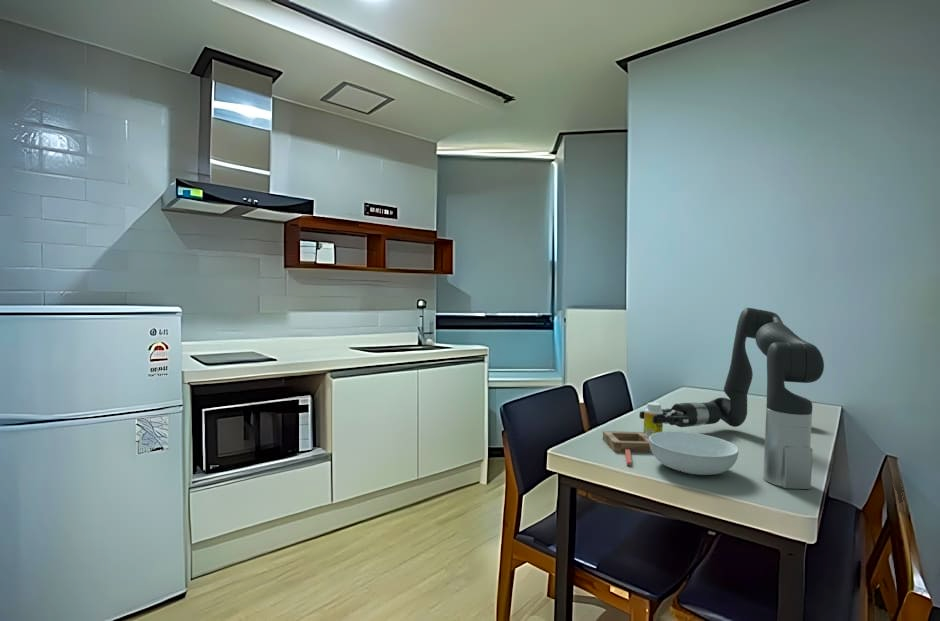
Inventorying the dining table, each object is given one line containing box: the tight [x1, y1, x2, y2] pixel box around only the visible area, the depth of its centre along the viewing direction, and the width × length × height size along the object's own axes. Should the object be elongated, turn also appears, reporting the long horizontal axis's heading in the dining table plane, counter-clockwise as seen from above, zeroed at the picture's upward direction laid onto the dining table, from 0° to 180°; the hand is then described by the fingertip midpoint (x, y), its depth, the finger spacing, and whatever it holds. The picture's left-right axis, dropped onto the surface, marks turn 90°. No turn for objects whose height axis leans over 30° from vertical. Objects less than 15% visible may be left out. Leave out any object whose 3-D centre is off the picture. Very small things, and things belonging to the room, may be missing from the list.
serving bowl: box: [649, 430, 740, 476], centre depth 130 cm, size 21×21×7 cm
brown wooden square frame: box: [602, 430, 652, 453], centre depth 149 cm, size 12×12×2 cm
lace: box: [624, 449, 633, 467], centre depth 136 cm, size 12×1×1 cm, turn 165°
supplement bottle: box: [643, 402, 664, 437], centre depth 159 cm, size 6×6×10 cm
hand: (647, 417), depth 159 cm, fingers closed on supplement bottle, 5 cm apart
